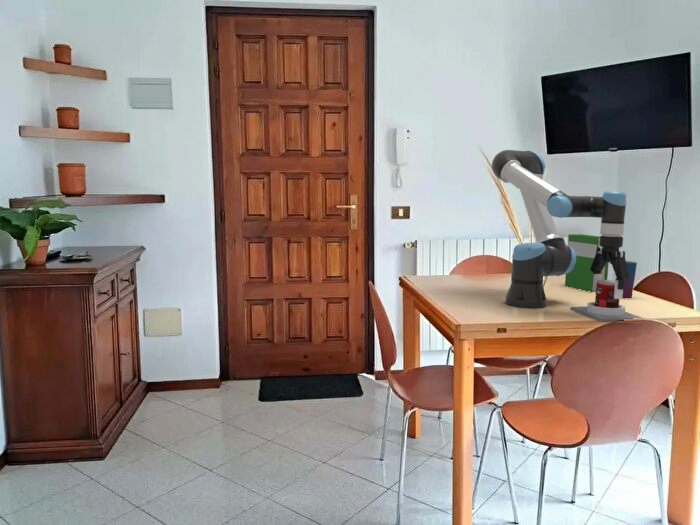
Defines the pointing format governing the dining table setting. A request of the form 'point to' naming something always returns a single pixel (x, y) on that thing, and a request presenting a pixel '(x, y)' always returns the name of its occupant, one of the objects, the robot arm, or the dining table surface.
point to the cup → (629, 282)
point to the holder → (604, 312)
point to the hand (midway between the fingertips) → (606, 295)
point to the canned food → (606, 294)
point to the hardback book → (583, 262)
